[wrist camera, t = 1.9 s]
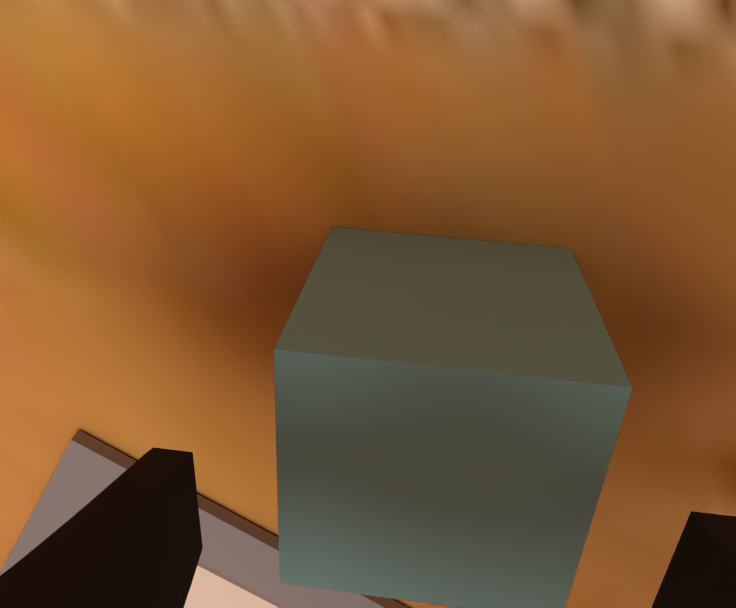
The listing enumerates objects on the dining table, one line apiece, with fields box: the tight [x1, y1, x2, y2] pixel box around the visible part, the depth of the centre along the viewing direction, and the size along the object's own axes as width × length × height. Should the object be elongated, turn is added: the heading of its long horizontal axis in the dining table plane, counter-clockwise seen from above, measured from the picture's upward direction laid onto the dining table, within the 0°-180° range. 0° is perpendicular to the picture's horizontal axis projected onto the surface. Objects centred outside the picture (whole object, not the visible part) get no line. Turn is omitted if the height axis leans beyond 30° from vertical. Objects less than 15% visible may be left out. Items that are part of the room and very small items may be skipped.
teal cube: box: [274, 227, 632, 608], centre depth 12 cm, size 5×5×5 cm
